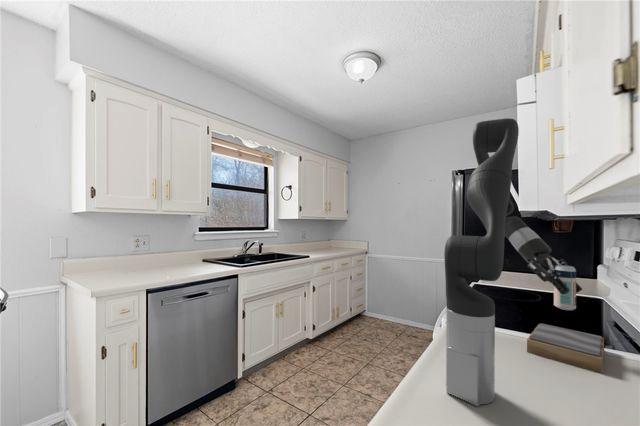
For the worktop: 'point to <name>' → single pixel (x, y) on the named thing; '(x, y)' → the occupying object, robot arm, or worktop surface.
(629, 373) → the worktop surface
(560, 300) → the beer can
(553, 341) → the dock
